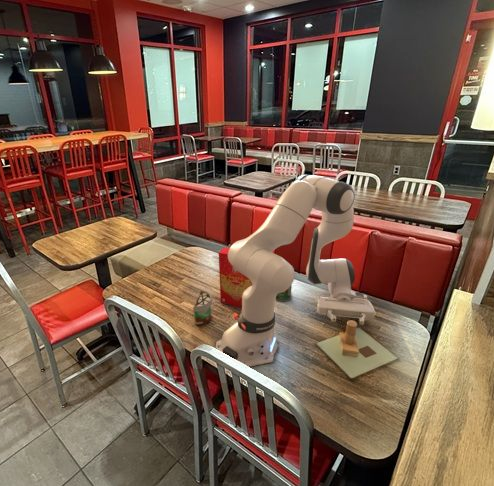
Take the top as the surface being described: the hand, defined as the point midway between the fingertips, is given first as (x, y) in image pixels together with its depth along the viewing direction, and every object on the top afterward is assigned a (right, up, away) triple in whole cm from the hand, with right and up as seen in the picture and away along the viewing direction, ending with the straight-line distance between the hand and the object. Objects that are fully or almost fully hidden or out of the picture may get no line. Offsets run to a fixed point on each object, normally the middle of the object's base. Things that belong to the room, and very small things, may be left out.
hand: (347, 321), depth 112 cm
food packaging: (-37, +2, +25) cm, 45 cm away
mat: (+1, -10, -4) cm, 11 cm away
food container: (-52, -3, +17) cm, 54 cm away
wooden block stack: (-1, -8, -2) cm, 9 cm away
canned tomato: (-17, +4, +28) cm, 34 cm away
